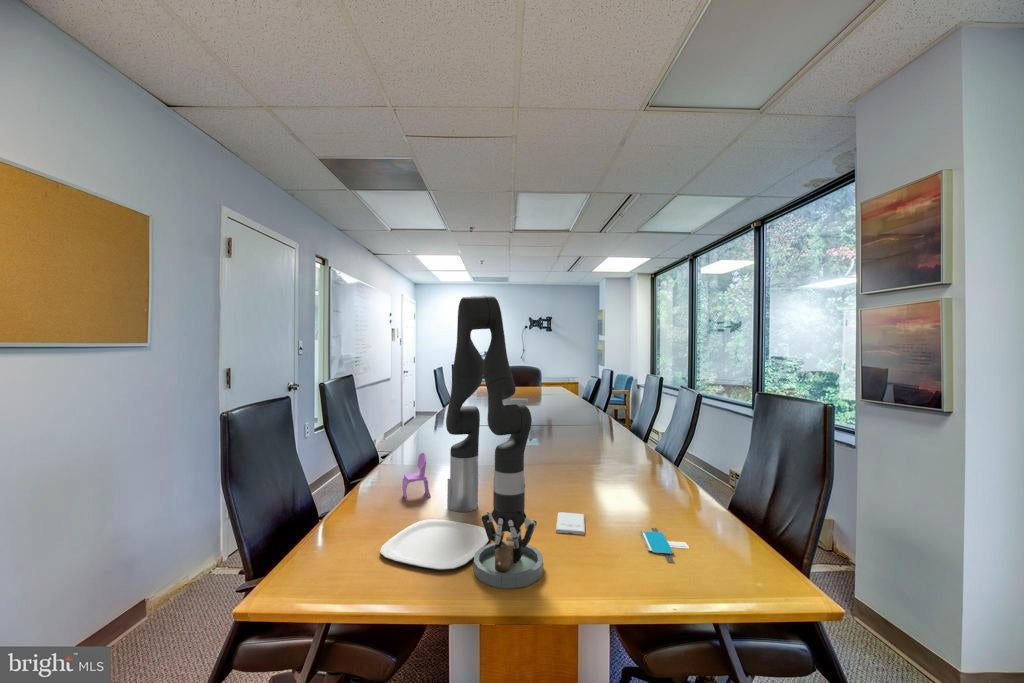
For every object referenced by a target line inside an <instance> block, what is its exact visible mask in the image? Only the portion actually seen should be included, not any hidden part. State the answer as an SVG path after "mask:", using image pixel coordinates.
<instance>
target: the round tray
mask: <svg viewBox="0 0 1024 683" xmlns="http://www.w3.org/2000/svg"><path fill="white" fill-rule="evenodd" d="M521 555H522V557H521V559H520V560H519V562H518V563H517V564H515V563H514V564H512V565H511V568H510V570H509V571H507V572H498V571H496V570H495V542H491V543H487V544H486V545H485V546H484V547H482V548H480V549H479V550H478V551H477V552H476V553H475V555H474V558H473V572H474V575H475V577H476V578H477V579H478V580H479V581H480V582H481V583H482V584H485V585H486V586H489V587H492V588H496V589H501V590H515V589H521V588H527V587H529V586H532V585H533V584H535V583H537V582H538V581H539V580H540V578H541V577H542V575H543V573H544V572H543V571H544V558H543V557H544V556H543V553H542V552H541V551H540V550H539V549H538V548H537V547H534V546H533V545H530V544H529V543H528V544H527V546H526V547H522V554H521Z"/></svg>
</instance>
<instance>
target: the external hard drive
mask: <svg viewBox="0 0 1024 683" xmlns="http://www.w3.org/2000/svg"><path fill="white" fill-rule="evenodd" d="M556 519H557V520H556V525H555V527H556V529H555V533H557V534H572V535H581V536H584V535H586V533H585V532H586V531H585V514H584V513H575V512H573V513H572V512H562V511H561V512H560V511H559V512H558V513H557V518H556Z"/></svg>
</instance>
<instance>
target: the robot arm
mask: <svg viewBox="0 0 1024 683" xmlns="http://www.w3.org/2000/svg"><path fill="white" fill-rule="evenodd" d="M458 303H459V304H458V309H457V323H456V324H457V331H456V332H457V333H456V347H455V353H454V361H453V366H452V367H453V368H452V376H451V389H450V390H451V392H450V397H449V402H448V406H447V413H446V419H445V427H446V430H447V433H448V434H450V435H454V436H456V435H457V436H458V435H459V436H460V435H461V436H462V435H463V436H464V435H467V437H465V438H464V439H463V440H461V441H459V442H457V443H455V444H453V445H451V447H450V452H449V453H450V456H449V457H450V458H449V459H450V460H449V461H450V466H449V468H450V470H449V472H450V476H449V477H448V478H447V497H446V498H447V499H446V500H447V501H446V502H447V504H446V505H447V509H450V510H452V511H453V512H457V513H469V512H471V511H472V512H473V511H474V510H476V509H478V508H479V443H480V442H479V441H480V440H479V439H480V438H479V437H480V422H481V419H480V418H481V415H480V410H479V408H478V407H477V406H475V405H467V406H466V405H465V406H463V404H465V402H467V400H468V399H469V398H471V396H472V395H473V394H474V393H475V392H476V391H477V390H478V389H479V388H480V386H481V385H482V382H483V379H484V382H485V386H486V392H487V403H488V404H487V405H488V406H487V426H488V428H489V430H490V431H491V432H492V433H493V434H494V435H496V436H508V435H510V436H509V438H508V440H507V441H504V442H502V443H500V444H498V445H497V446H496V447H495V449H494V473H493V494H492V496H493V499H492V500H493V501H492V504H493V505H492V506H493V510H492V512H485V513H484V514H483V515H481V520H482V524H483V528H485V531H486V534H487V537H488V539H489V541H490V542H491V541H492V542H493V543H495V550H496V549H497V548H499V547H501V543H502V542H504V541H505V540H503V539H504V538H505V532H508V533H510V535H511V536H512V539H513V542H514V549H513V563H515V564H517V563H518V562H519V560H520V559H521V557H522V555H521V554H522V547H526V546H527V544H528V545H529V543H530V541H531V539H532V536H533V534H534V531H535V529H536V526H537V520H535V519H534V520H531V519H529V518H528V517H527V515H526V512H525V508H526V506H525V505H526V504H525V499H526V498H525V497H526V495H525V494H526V492H525V491H526V490H525V489H526V482H525V481H526V478H525V477H526V476H525V469H524V468H525V450H526V446H527V443H528V439H529V435H530V433H531V432H530V431H531V427H532V415H531V411H530V409H529V408H528V406H527V405H525V404H523V403H522V404H521V403H516V404H515V403H514V404H504V403H503V401H504V400H506V399H509V398H511V397H513V396H514V395H515V393H516V390H517V389H516V384H515V381H514V377H513V374H512V370H511V366H510V363H509V358H508V353H507V347H506V346H507V345H506V338H505V330H504V324H503V323H504V322H503V315H502V310H501V307H500V306H501V305H500V302H499V300H498V299H497V298H496V297H495V296H494V295H468V296H463V297H461V299H460V301H459V302H458ZM474 330H489V331H490V335H491V336H490V337H491V338H490V343H489V346H488V349H487V351H486V354H485V355H484V359H483V356H482V355H481V353H480V352H479V350H478V349H477V347H476V345H475V344H474V343H473V340H472V337H471V336H472V335H471V334H472V332H473V331H474ZM493 521H494V522H495V524H496V525H497V526H496V527H495V525H494V522H493ZM523 524H524V525H525V526H524V528H525V530H526V531H525V534H524V536H523V537H522V525H523Z"/></svg>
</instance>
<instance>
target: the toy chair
mask: <svg viewBox="0 0 1024 683" xmlns="http://www.w3.org/2000/svg"><path fill="white" fill-rule="evenodd" d="M416 466H417V468H418V469H419V472H415V473H406V474H405V473H404V474H403V478H402V486H401V487H402V495H403V497H404V499H405V501H406V502H409V499H408V495H407V487H408V484H410V483H414V482H418V481H420V482H421V481H423V485H424V491H425V494H426V495H427V496H428V497H429V498H432V496H431V493H430V489H429V481H428V478H427V476H426V475H425V473H426V468H427V467H426V466H427V453H426V452H421V453H419V455H418V458H417V464H416Z"/></svg>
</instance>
